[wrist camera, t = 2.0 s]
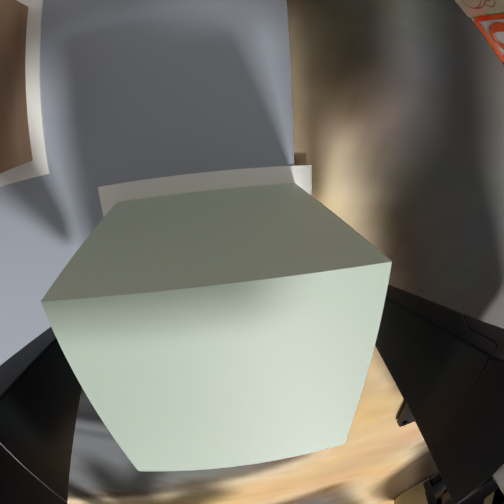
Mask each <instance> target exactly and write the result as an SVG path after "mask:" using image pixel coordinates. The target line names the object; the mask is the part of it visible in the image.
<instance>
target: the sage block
mask: <svg viewBox="0 0 504 504" xmlns="http://www.w3.org/2000/svg"><path fill="white" fill-rule="evenodd" d="M391 264H392V261H391V260H390V259H388V258H387V257H386V256H385V255H384V254H383V253H381V252H380V251H379V250H378V249H377V248H376V247H374V246H373V245H372V244H371V243H370V242H369V241H367V240H366V239H365V238H364V237H363V236H361V235H360V234H359V233H358V232H357V231H355V230H354V229H353V228H352V227H350V226H349V225H348V224H347V223H346V222H344V221H343V220H342V219H341V218H339V217H338V216H337V215H336V214H334V213H333V212H332V211H331V210H329V209H328V208H327V207H326V206H324V205H323V204H322V203H320V202H319V201H318V200H317V199H315V198H314V197H313V196H311V195H310V194H309V193H308V192H306V191H305V190H304V189H302V188H301V187H300V186H298V185H297V184H296V183H289V184H275V185H261V186H249V187H237V188H227V189H216V190H206V191H197V192H188V193H180V194H171V195H163V196H155V197H148V198H141V199H133V200H127V201H120V202H117V203H116V204H115V205H114V206H113V207H112V208H111V210H110V211H109V212H108V213H107V214H106V215H105V217H104V218H103V219H102V220H101V221H100V223H99V224H98V225H97V226H96V227H95V229H94V230H93V231H92V232H91V234H90V235H89V236H88V237H87V239H86V240H85V241H84V242H83V244H82V245H81V246H80V248H79V249H78V250H77V252H76V253H75V254H74V255H73V257H72V258H71V259H70V261H69V262H68V263H67V265H66V266H65V268H64V269H63V270H62V272H61V273H60V274H59V276H58V277H57V279H56V280H55V281H54V283H53V284H52V286H51V287H50V289H49V290H48V291H47V293H46V294H45V296H44V297H43V299H42V300H41V304H42V306H43V309H44V311H45V313H46V316H47V318H48V320H49V323H50V325H51V327H52V329H53V332H54V334H55V336H56V338H57V340H58V342H59V345H60V347H61V349H62V351H63V353H64V355H65V357H66V359H67V361H68V363H69V365H70V366H71V368H72V370H73V372H74V374H75V376H76V378H77V379H78V381H79V383H80V385H81V387H82V388H83V390H84V392H85V393H86V395H87V397H88V399H89V400H90V402H91V404H92V405H93V407H94V408H95V410H96V412H97V413H98V415H99V416H100V418H101V419H102V421H103V423H104V424H105V426H106V427H107V429H108V430H109V431H110V433H111V434H112V436H113V437H114V439H115V440H116V442H117V443H118V444H119V446H120V447H121V449H122V450H123V451H124V453H125V454H126V455H127V457H128V458H129V459H130V461H131V462H132V463H133V465H134V466H135V467H136V468H137V470H138V471H188V470H204V469H216V468H226V467H234V466H242V465H249V464H256V463H263V462H268V461H274V460H280V459H285V458H290V457H295V456H299V455H304V454H308V453H312V452H316V451H320V450H324V449H328V448H332V447H336V446H339V445H343V444H345V441H346V438H347V436H348V433H349V430H350V427H351V424H352V421H353V418H354V415H355V412H356V409H357V406H358V403H359V400H360V397H361V393H362V390H363V387H364V384H365V380H366V377H367V373H368V369H369V366H370V362H371V358H372V355H373V351H374V347H375V343H376V339H377V335H378V330H379V326H380V321H381V317H382V312H383V308H384V303H385V298H386V293H387V287H388V282H389V276H390V270H391Z"/></svg>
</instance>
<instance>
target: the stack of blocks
mask: <svg viewBox="0 0 504 504" xmlns="http://www.w3.org/2000/svg"><path fill="white" fill-rule="evenodd" d="M454 1H455V2H456V3H457V4H458V5H459V6H460V8H461V9H462V10H463V11H464V13H465V14H466V15H467V16H468V17H470V18H471V19H472V20H473V21H474V23H475V25H476V26H477V27H478V28H479V29H480V31H481V32H482V34H483V35H484V36H485V38H486V39H487V41H488V42H489V44H490V45H491V46H492V48H493V49H494V51H495V53H496V54H497V55H498V57H499V59H500V60H501V61H502V62H503V64H504V0H454Z"/></svg>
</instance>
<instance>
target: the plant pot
mask: <svg viewBox="0 0 504 504" xmlns="http://www.w3.org/2000/svg"><path fill="white" fill-rule="evenodd" d="M424 481H426V480H424ZM424 481H422V482H420V483H418V484H416V485H415V486H413V487H411V488H409V489H408V490H406V491H405V492H403V493H402V494H400V495H399V496H398V497H397V498H396V499H395V500H394V504H428V501H427V498H426V495H425V488H424V485H423V482H424Z"/></svg>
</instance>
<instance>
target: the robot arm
mask: <svg viewBox="0 0 504 504" xmlns="http://www.w3.org/2000/svg"><path fill="white" fill-rule="evenodd" d="M375 345H376V347H377V349H378V351H379V353H380V355H381V357H382V359H383V360H384V362H385V364H386V366H387V368H388V370H389V372H390V373H391V375H392V377H393V379H394V381H395V383H396V385H397V387H398V388H399V390H400V392H401V394H402V396H403V398H404V400H405V402H406V404H405V406H404V408H403V410H402V412H401V414H400V416H399V418H398V420H397V423H398V425H399V427H401V426H404V425H407V424H409V423H411V422H414V421H415V422H416V424H417V426H418V428H419V430H420V432H421V434H422V436H423V438H424V440H425V442H426V444H427V446H428V448H429V450H430V452H431V455H432V457H433V459H434V462H435V464H436V466H437V468H438V470H439V472H438V473H437V474H436V475H434V476H433V477H430V478H428V479H427V480H426V481H424V482H423V485H424V488H425V495H426V498H427V501H428V504H504V329H503V328H500V327H497V326H494V325H491V324H488V323H485V322H483V321H480V320H477V319H475V318H472V317H470V316H467V315H465V314H464V315H463V314H462V313H460V312H457V311H454V310H452V309H449V308H447V307H444V306H442V305H439V304H437V303H434V302H432V301H429V300H426V299H424V298H421V297H419V296H416V295H414V294H411V293H408V292H406V291H403V290H401V289H398V288H395V287H393V286H390V285H388V287H387V293H386V298H385V303H384V308H383V312H382V317H381V321H380V326H379V330H378V335H377V339H376V343H375ZM81 389H82V387H81V385H80V383H79V381H78V379H77V378H76V376H75V374H74V372H73V370H72V368H71V366H70V365H69V363H68V361H67V359H66V357H65V355H64V353H63V351H62V349H61V347H60V345H59V342H58V340H57V338H56V336H55V334H54V332H53V329H52V327H50V328H48V329H47V330H46V331H44V332H43V333H42V334H40V335H39V336H38V337H36V338H35V339H34V340H32V341H31V342H30V343H28V344H27V345H26V346H24V347H23V348H22V349H21V350H19V351H18V352H17V353H15V354H14V355H13V356H12V357H10V358H9V359H8V360H6V361H5V362H4V363H3V364H1V365H0V504H67V499H68V484H69V472H70V462H71V453H72V445H73V437H74V430H75V423H76V417H77V411H78V405H79V400H80V394H81Z"/></svg>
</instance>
